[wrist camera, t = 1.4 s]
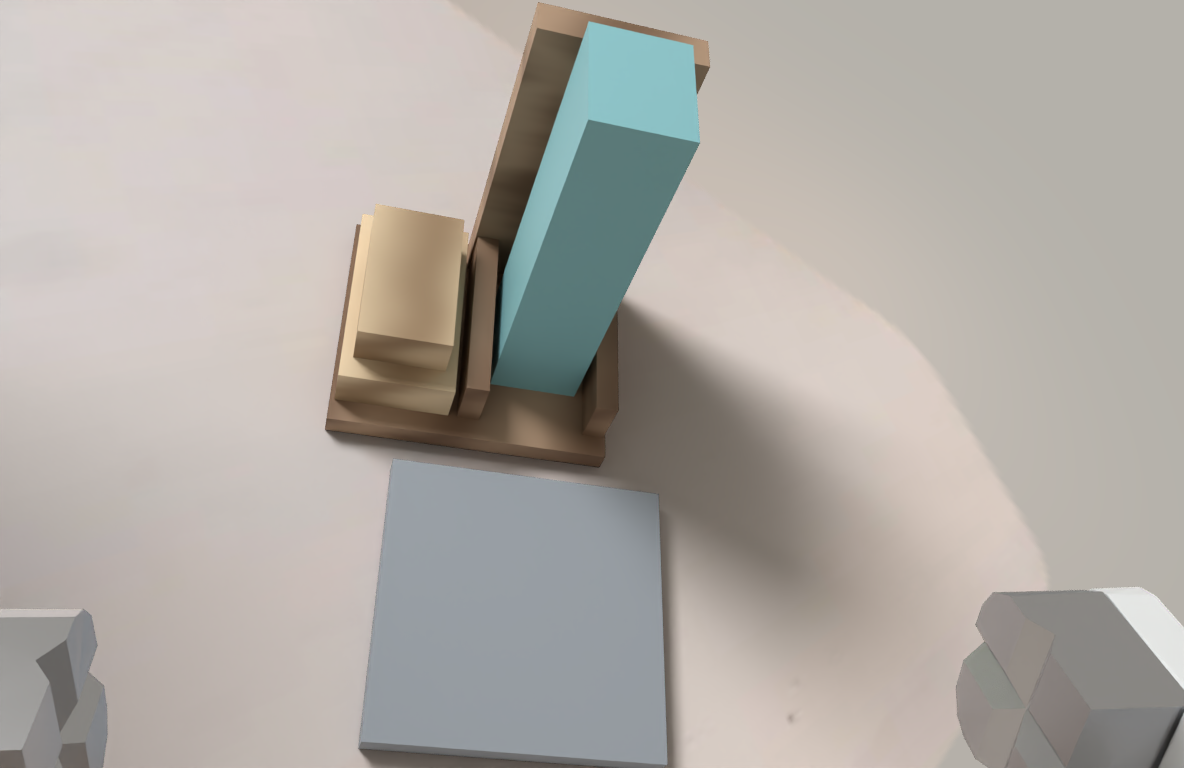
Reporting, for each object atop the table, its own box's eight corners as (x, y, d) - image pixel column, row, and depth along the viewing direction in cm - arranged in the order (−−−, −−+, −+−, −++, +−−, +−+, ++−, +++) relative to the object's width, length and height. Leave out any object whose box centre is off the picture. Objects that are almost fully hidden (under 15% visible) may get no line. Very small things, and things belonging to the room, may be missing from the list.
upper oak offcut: (352, 357, 48) (357, 331, 46) (371, 232, 52) (375, 203, 50) (445, 371, 49) (453, 346, 47) (456, 247, 52) (464, 220, 51)
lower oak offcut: (334, 399, 49) (338, 374, 47) (358, 240, 54) (362, 213, 52) (448, 415, 50) (455, 392, 48) (461, 258, 55) (468, 232, 53)
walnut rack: (324, 429, 49) (362, 185, 36) (354, 237, 55) (395, -31, 42) (599, 467, 52) (724, 253, 39) (598, 280, 58) (708, 41, 45)
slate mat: (358, 748, 42) (361, 741, 41) (390, 469, 49) (393, 458, 48) (659, 771, 45) (667, 764, 44) (651, 503, 51) (658, 493, 51)
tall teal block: (490, 384, 51) (588, 119, 38) (495, 297, 54) (588, 21, 40) (574, 396, 52) (699, 142, 38) (575, 310, 55) (693, 45, 41)
